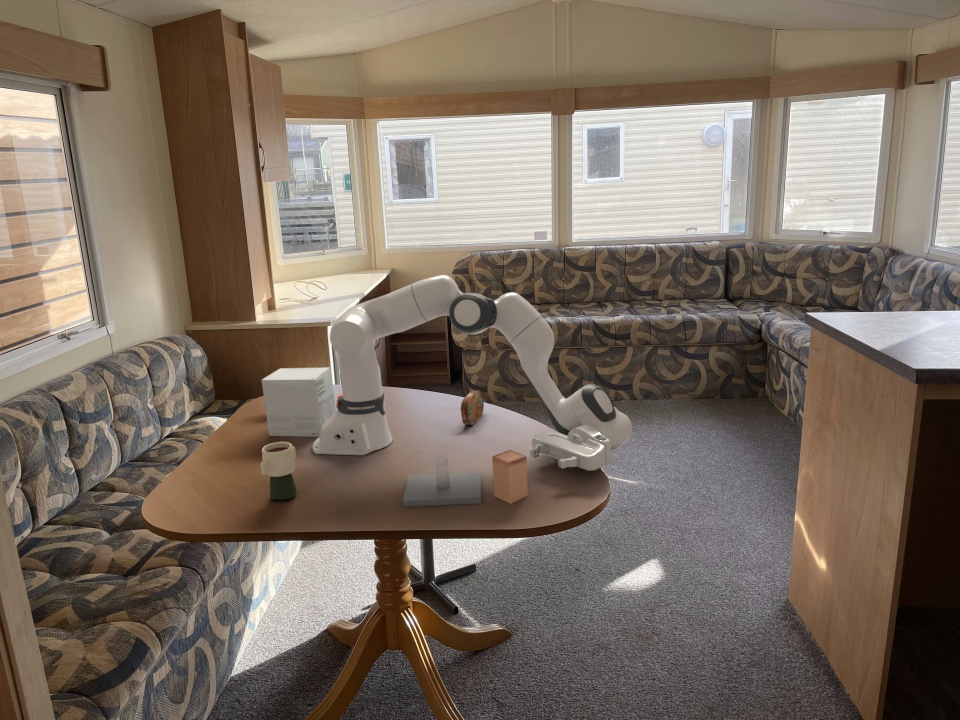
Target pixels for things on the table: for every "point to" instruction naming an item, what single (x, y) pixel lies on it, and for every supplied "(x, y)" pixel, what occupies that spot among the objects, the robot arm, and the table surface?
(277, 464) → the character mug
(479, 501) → the base
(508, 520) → the table surface
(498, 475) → the tall lidded tan box
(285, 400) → the supplement box
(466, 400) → the tin
